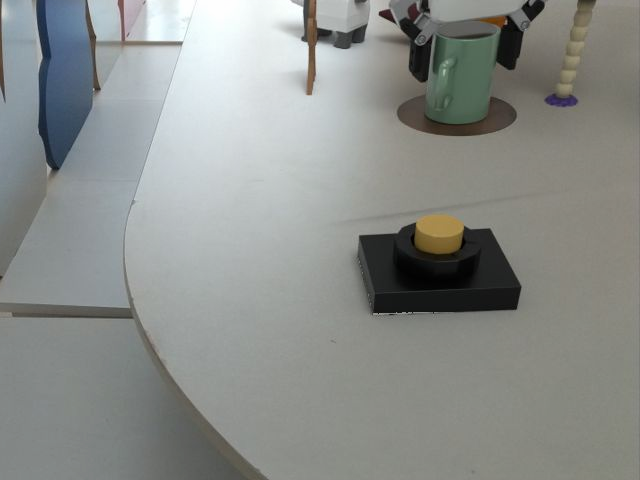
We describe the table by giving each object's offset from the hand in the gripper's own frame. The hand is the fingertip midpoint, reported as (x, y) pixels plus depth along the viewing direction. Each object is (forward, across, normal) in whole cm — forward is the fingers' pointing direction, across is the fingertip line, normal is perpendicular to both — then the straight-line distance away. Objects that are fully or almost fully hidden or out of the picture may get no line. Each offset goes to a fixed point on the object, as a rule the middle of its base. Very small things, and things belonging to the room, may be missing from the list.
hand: (462, 72), depth 86 cm
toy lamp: (+6, -12, +1) cm, 13 cm away
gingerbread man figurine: (+6, +13, -14) cm, 20 cm away
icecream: (+6, -8, -27) cm, 29 cm away
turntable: (+6, 0, 0) cm, 6 cm away
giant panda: (+6, +5, -36) cm, 36 cm away
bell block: (+6, +14, +30) cm, 34 cm away
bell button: (+2, +14, +30) cm, 33 cm away
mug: (+4, +1, +1) cm, 5 cm away
